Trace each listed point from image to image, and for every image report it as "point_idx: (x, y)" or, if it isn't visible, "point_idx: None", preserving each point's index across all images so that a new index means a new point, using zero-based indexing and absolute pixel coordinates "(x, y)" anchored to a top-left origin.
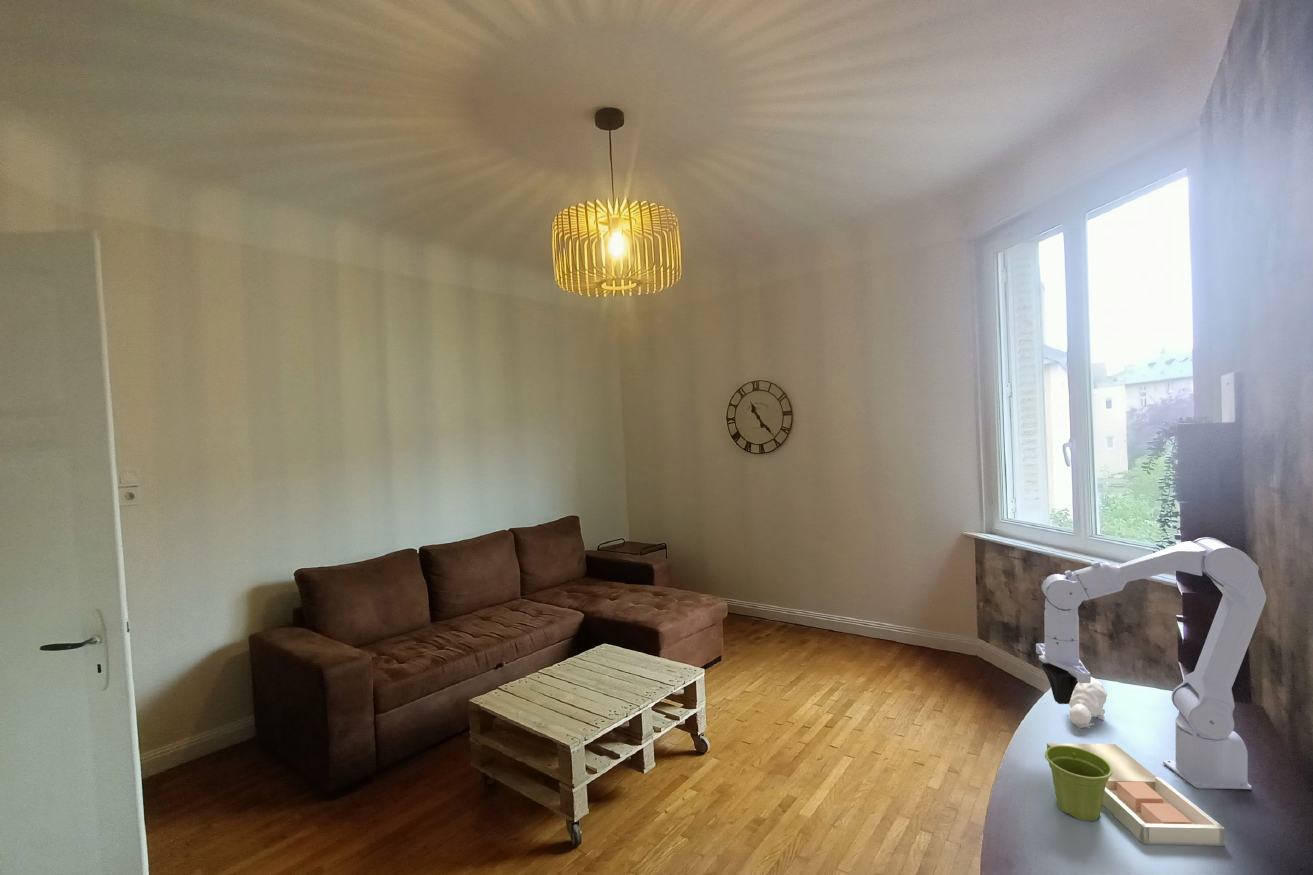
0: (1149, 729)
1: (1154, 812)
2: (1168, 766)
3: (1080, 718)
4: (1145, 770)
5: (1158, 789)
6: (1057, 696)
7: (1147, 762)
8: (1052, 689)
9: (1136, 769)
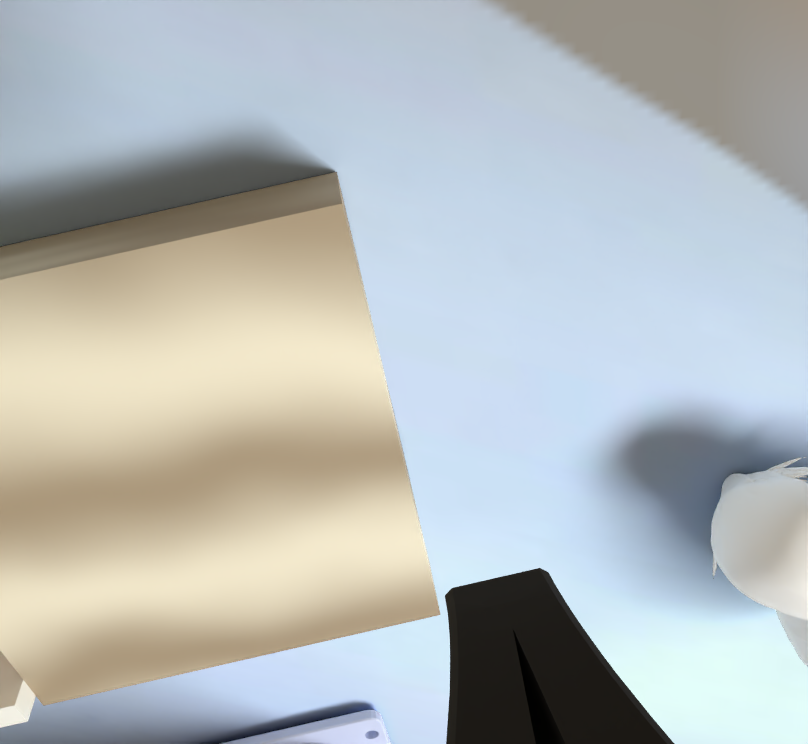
0: (696, 725)
1: None
2: (334, 719)
3: (730, 537)
4: (145, 668)
5: (4, 657)
6: (455, 682)
7: (369, 659)
8: (594, 711)
9: (137, 637)
